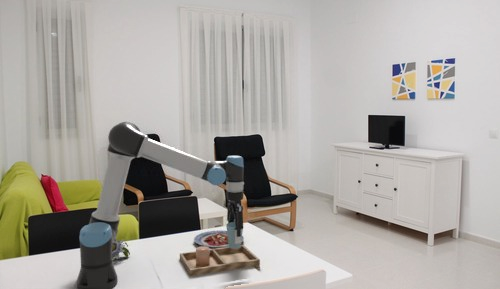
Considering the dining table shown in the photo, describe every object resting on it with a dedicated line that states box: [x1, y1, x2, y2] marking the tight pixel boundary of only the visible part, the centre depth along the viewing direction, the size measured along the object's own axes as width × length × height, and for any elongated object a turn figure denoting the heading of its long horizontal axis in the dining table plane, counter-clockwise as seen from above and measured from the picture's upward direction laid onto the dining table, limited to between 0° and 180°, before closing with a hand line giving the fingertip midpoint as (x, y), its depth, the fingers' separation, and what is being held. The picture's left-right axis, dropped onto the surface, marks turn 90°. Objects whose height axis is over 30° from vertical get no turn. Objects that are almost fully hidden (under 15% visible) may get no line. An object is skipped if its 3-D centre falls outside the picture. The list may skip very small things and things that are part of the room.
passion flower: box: [112, 236, 131, 260], centre depth 188 cm, size 11×11×12 cm
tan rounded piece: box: [195, 245, 211, 267], centre depth 179 cm, size 6×6×7 cm
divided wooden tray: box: [179, 244, 261, 277], centre depth 182 cm, size 31×20×4 cm, turn 112°
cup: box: [225, 222, 244, 249], centre depth 184 cm, size 8×8×10 cm
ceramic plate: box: [193, 230, 245, 248], centre depth 212 cm, size 26×26×3 cm
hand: (234, 240), depth 184 cm, fingers closed on cup, 7 cm apart
